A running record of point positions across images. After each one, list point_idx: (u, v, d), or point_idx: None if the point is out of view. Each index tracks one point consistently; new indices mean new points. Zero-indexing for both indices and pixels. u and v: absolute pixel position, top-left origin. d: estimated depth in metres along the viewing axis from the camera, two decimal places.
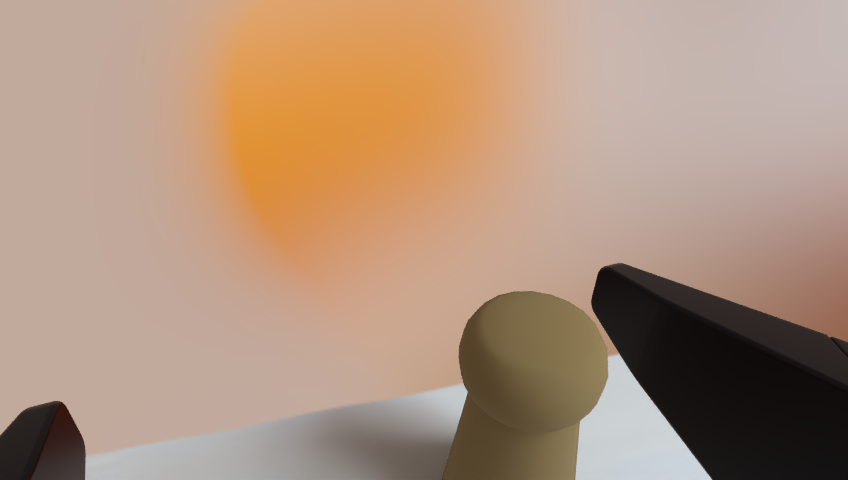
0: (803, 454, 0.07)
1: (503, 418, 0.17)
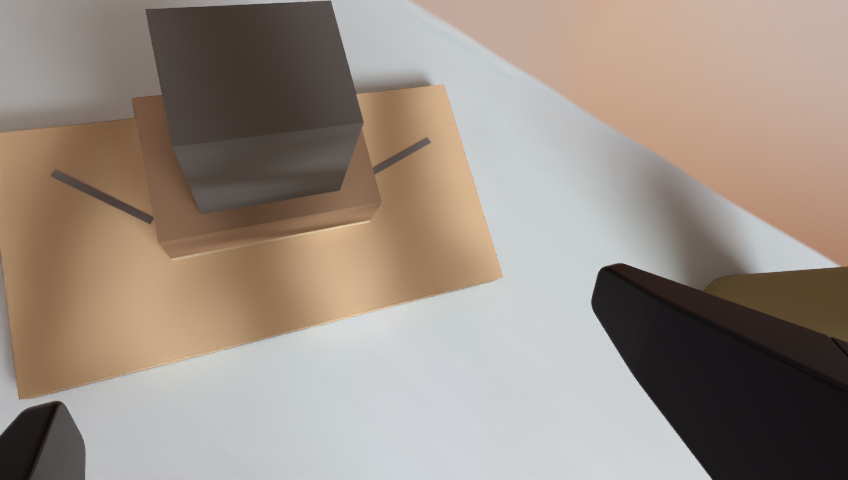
0: (802, 454, 0.07)
1: None
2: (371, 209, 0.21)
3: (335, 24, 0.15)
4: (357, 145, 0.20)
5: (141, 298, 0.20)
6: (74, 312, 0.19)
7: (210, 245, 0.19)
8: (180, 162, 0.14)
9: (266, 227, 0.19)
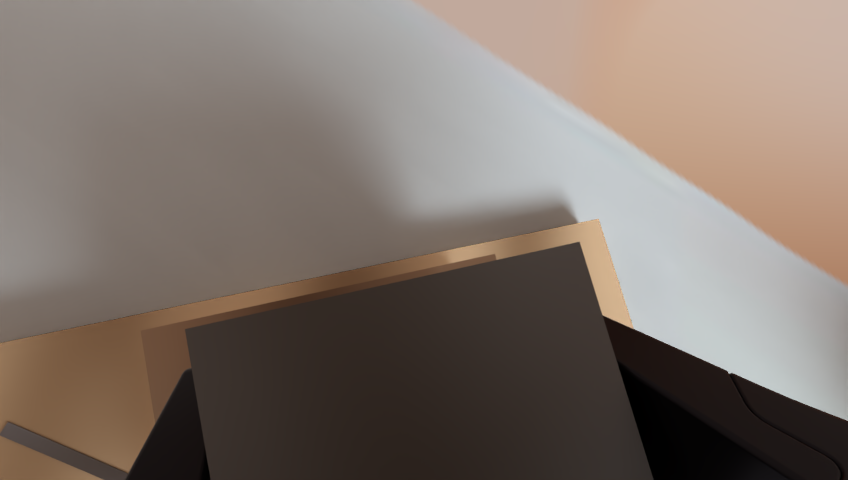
0: None
1: None
2: None
3: (595, 301, 0.07)
4: None
5: None
6: None
7: None
8: None
9: None
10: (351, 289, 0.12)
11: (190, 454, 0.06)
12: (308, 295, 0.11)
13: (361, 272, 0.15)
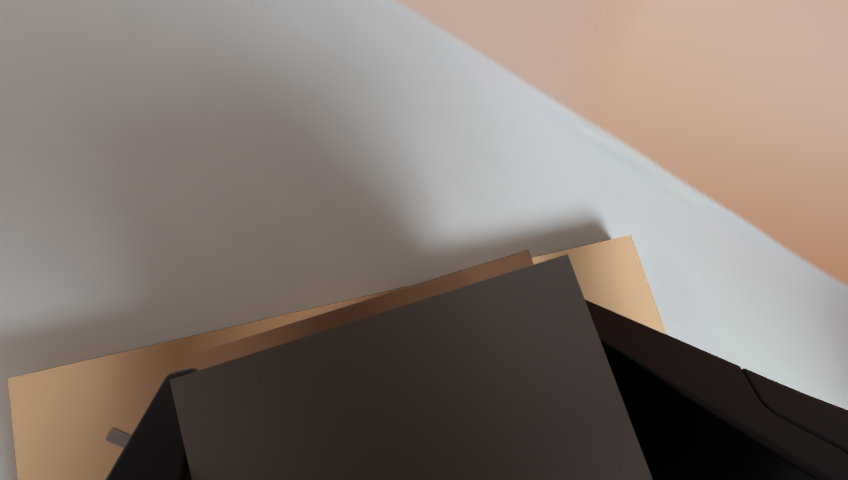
0: None
1: None
2: None
3: (587, 316, 0.06)
4: None
5: None
6: None
7: None
8: None
9: None
10: (382, 299, 0.12)
11: (169, 460, 0.06)
12: (340, 309, 0.12)
13: None
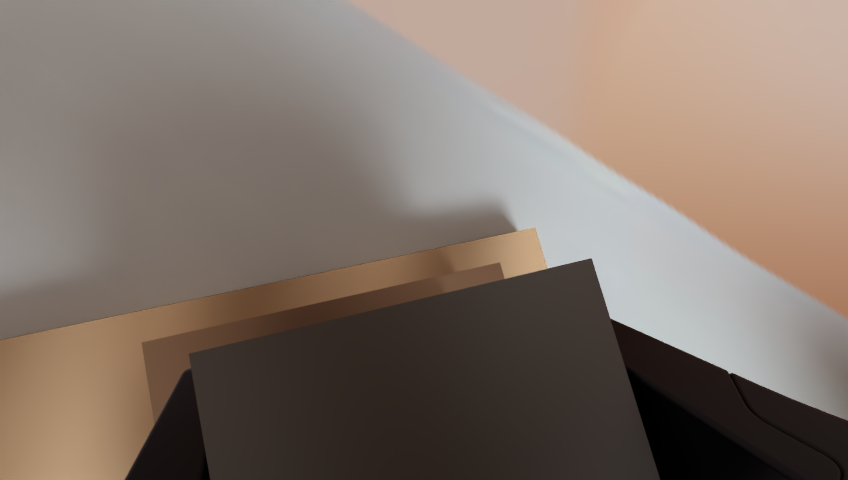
0: None
1: None
2: None
3: (607, 319, 0.07)
4: None
5: None
6: None
7: None
8: None
9: None
10: (355, 299, 0.11)
11: (190, 454, 0.06)
12: (311, 305, 0.11)
13: (269, 288, 0.14)
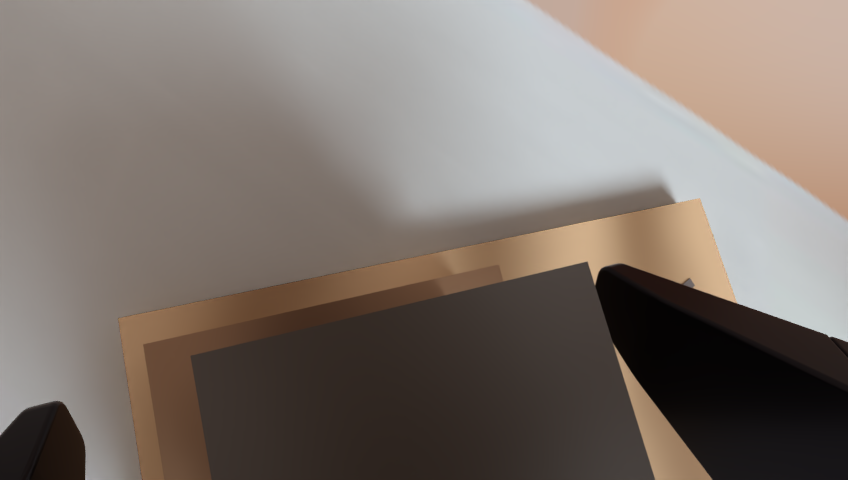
0: (803, 454, 0.07)
1: None
2: None
3: (603, 322, 0.07)
4: None
5: None
6: None
7: None
8: None
9: None
10: (354, 301, 0.12)
11: None
12: (311, 307, 0.11)
13: (500, 243, 0.16)
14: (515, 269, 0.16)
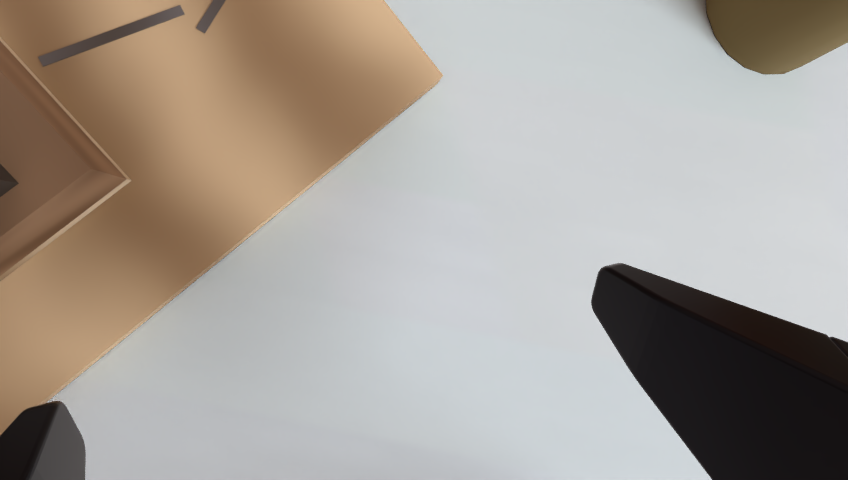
0: (803, 454, 0.07)
1: None
2: (95, 179, 0.14)
3: None
4: (7, 100, 0.13)
5: (19, 305, 0.15)
6: None
7: None
8: None
9: None
10: None
11: None
12: None
13: None
14: None
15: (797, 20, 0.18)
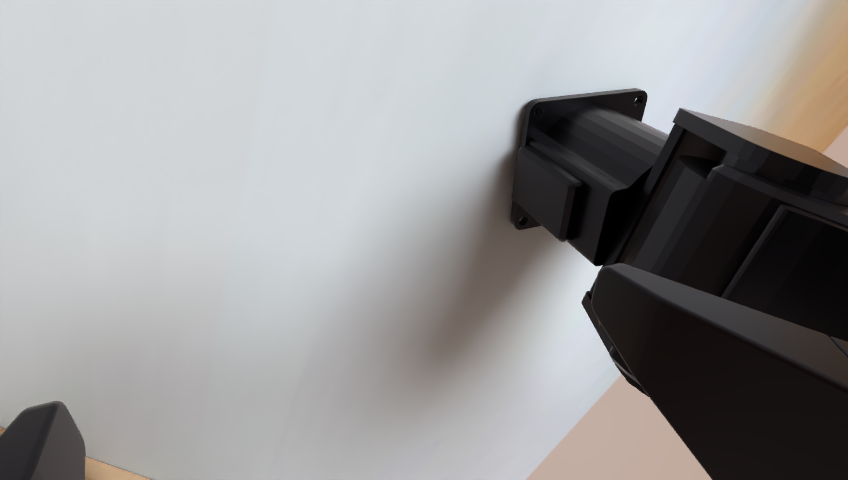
0: (803, 454, 0.07)
1: None
2: None
3: None
4: None
5: None
6: None
7: None
8: None
9: None
10: None
11: None
12: None
13: None
14: None
15: None
